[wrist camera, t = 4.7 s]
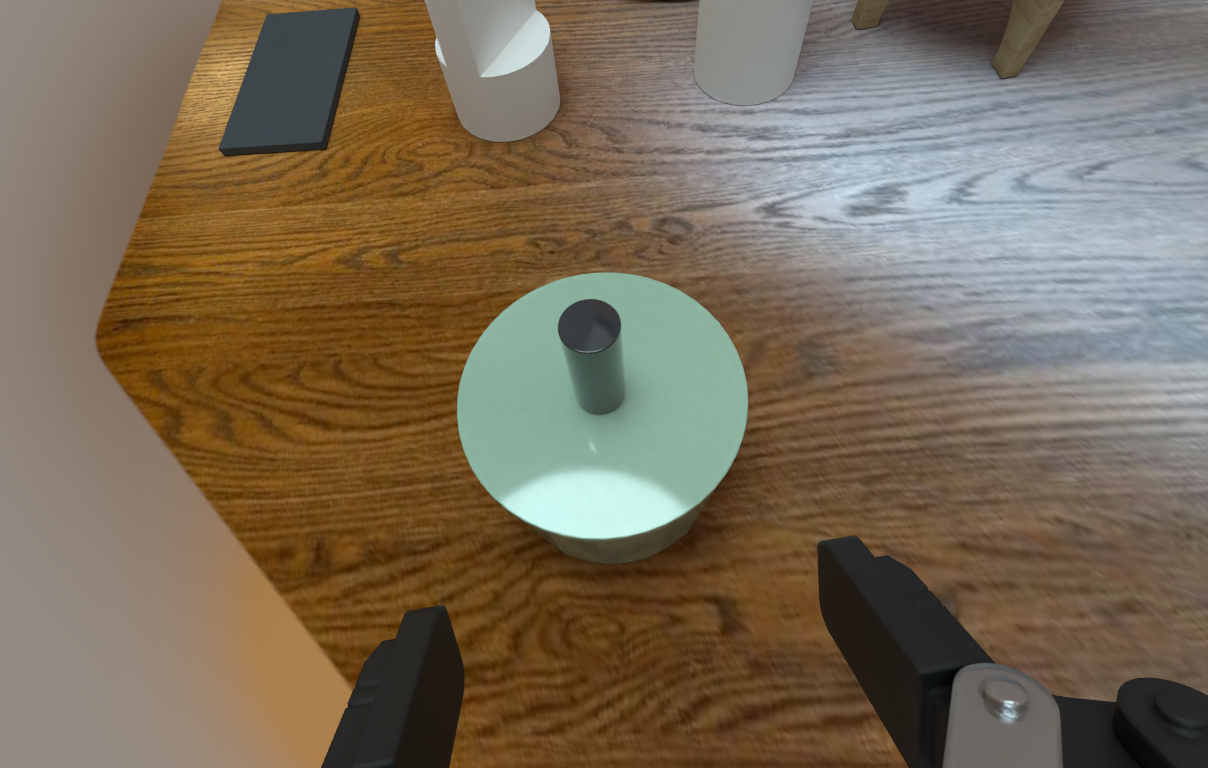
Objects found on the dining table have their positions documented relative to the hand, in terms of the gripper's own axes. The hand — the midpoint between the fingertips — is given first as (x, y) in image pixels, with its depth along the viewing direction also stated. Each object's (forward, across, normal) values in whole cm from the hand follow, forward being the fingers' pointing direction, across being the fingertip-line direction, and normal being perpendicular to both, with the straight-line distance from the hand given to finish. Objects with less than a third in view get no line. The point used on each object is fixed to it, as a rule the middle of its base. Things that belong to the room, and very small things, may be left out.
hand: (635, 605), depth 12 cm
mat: (+52, +23, -21) cm, 60 cm away
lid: (+16, 0, +1) cm, 16 cm away
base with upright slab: (+46, +4, -15) cm, 49 cm away
